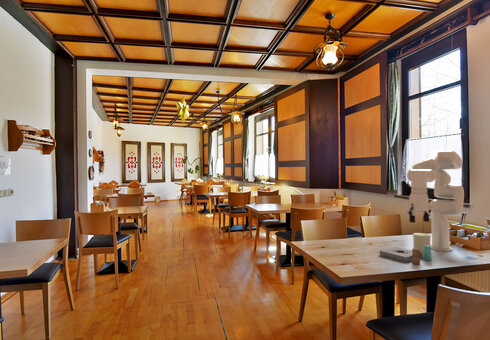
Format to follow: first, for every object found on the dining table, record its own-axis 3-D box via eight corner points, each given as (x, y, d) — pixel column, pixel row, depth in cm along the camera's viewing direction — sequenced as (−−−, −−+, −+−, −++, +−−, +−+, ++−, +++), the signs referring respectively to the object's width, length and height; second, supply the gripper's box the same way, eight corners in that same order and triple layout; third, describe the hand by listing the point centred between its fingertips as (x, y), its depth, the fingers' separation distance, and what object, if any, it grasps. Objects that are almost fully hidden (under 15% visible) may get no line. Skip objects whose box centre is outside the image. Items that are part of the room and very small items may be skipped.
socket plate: (395, 251, 181) (395, 246, 181) (421, 257, 167) (421, 252, 167) (379, 255, 172) (379, 250, 172) (406, 262, 159) (406, 257, 159)
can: (422, 256, 171) (422, 235, 171) (409, 251, 180) (409, 232, 180) (434, 254, 173) (434, 234, 174) (421, 250, 182) (421, 231, 182)
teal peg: (425, 259, 165) (425, 245, 165) (432, 260, 162) (432, 246, 162) (422, 260, 163) (422, 245, 163) (429, 261, 160) (429, 247, 160)
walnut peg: (414, 262, 159) (414, 248, 159) (421, 264, 156) (421, 249, 156) (411, 263, 157) (411, 249, 157) (417, 265, 154) (417, 250, 154)
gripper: (425, 190, 169) (425, 220, 169) (401, 191, 164) (401, 221, 164) (437, 191, 162) (437, 222, 161) (412, 192, 157) (412, 223, 157)
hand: (419, 221), depth 163 cm, fingers open, 9 cm apart
